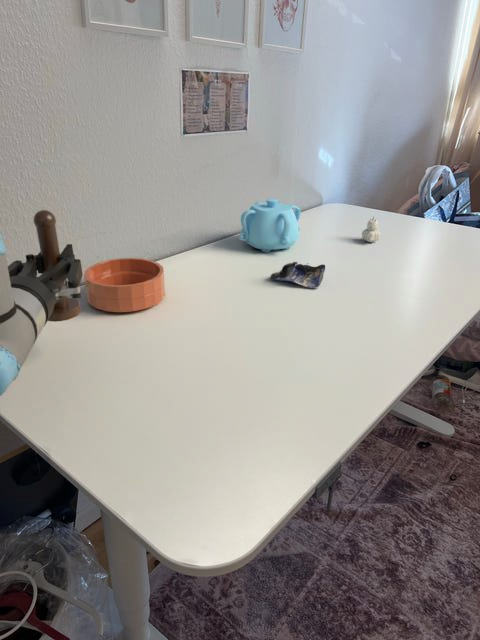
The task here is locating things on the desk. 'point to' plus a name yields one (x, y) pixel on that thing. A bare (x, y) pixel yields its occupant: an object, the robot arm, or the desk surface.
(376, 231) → the cream small figurine
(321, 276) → the snack package
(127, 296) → the bowl
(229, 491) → the desk surface
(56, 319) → the muddler
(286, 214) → the decorative pot
